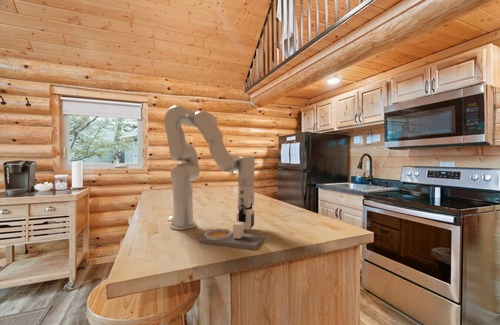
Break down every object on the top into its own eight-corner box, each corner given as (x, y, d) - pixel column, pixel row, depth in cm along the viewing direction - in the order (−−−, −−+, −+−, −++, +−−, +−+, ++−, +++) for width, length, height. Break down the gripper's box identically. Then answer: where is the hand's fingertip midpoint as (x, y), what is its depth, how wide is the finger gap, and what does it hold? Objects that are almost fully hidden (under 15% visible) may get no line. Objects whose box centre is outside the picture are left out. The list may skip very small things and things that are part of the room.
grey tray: (199, 242, 96) (199, 235, 96) (213, 233, 108) (213, 227, 108) (254, 249, 88) (254, 242, 88) (264, 239, 99) (264, 232, 99)
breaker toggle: (233, 237, 95) (233, 224, 95) (237, 234, 99) (237, 221, 99) (240, 238, 94) (239, 225, 94) (243, 235, 98) (243, 222, 98)
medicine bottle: (251, 229, 108) (251, 203, 107) (236, 228, 109) (236, 202, 109) (254, 225, 115) (254, 200, 114) (239, 223, 116) (240, 199, 116)
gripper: (247, 184, 102) (246, 225, 102) (259, 181, 118) (258, 216, 119) (231, 183, 104) (230, 223, 105) (245, 180, 121) (244, 214, 121)
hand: (245, 219), depth 112 cm, fingers closed on medicine bottle, 7 cm apart
